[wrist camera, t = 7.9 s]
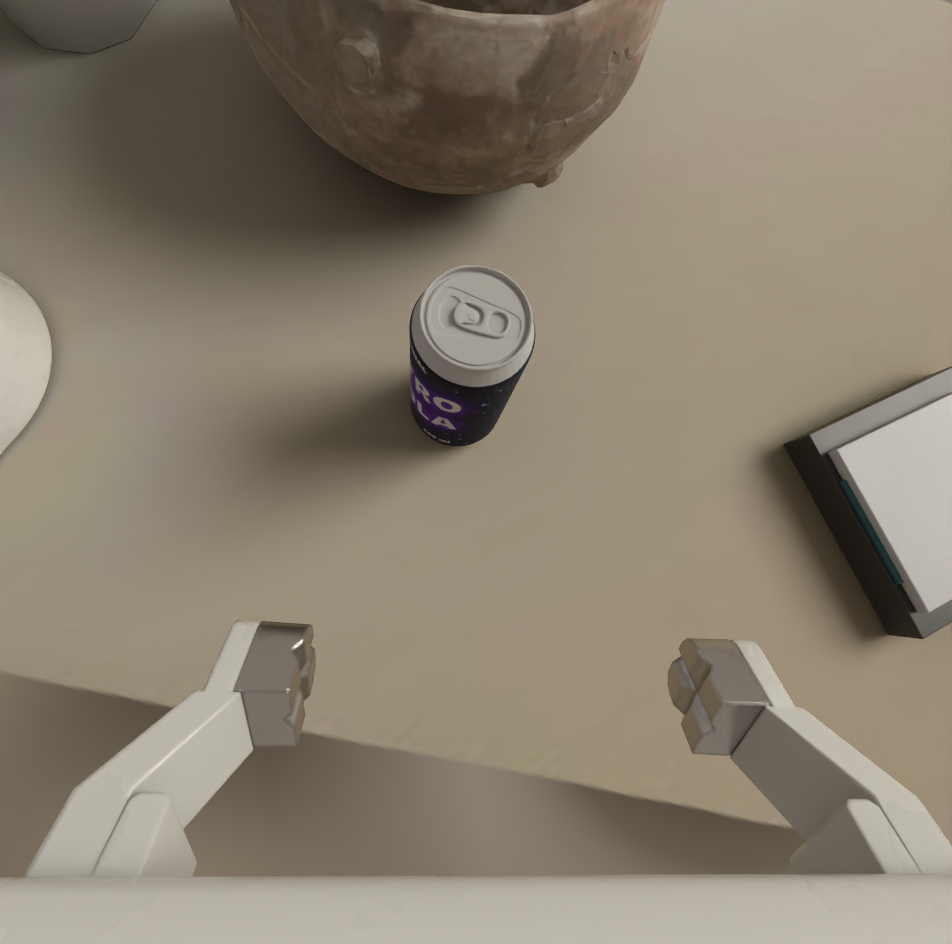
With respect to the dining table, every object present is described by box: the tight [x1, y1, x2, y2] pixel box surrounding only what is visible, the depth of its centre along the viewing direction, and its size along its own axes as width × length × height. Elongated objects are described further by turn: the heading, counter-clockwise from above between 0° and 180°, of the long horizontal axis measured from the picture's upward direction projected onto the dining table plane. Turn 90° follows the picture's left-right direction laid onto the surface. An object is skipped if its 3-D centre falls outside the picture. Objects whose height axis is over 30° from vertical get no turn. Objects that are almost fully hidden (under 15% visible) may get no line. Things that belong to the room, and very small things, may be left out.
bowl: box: [230, 0, 665, 195], centre depth 31 cm, size 24×24×15 cm
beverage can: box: [410, 265, 535, 446], centre depth 28 cm, size 6×6×12 cm
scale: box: [784, 366, 952, 639], centre depth 35 cm, size 14×14×3 cm
